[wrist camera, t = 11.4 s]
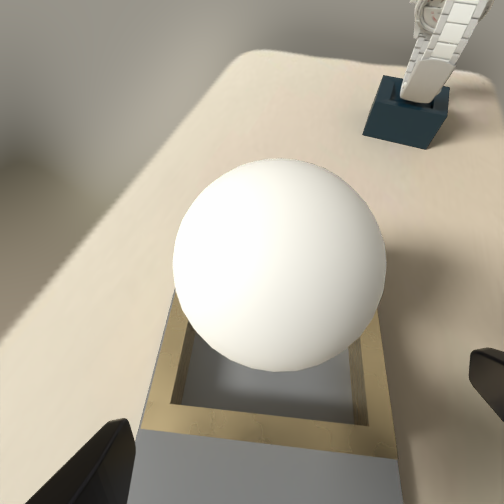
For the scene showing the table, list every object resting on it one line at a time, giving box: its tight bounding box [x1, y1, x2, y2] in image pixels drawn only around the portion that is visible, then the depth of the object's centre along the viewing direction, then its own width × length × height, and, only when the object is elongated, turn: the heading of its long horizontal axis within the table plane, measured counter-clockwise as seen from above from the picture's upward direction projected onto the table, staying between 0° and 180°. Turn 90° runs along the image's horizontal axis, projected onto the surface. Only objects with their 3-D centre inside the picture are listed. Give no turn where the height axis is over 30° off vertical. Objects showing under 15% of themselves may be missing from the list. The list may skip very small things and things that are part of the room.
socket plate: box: [127, 288, 403, 504], centre depth 14 cm, size 15×12×3 cm
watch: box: [362, 0, 494, 150], centre depth 21 cm, size 6×8×11 cm
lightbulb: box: [173, 158, 387, 372], centre depth 10 cm, size 6×6×11 cm
